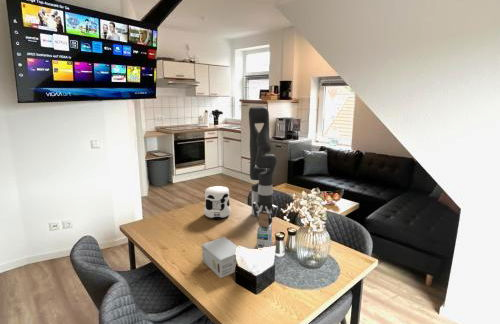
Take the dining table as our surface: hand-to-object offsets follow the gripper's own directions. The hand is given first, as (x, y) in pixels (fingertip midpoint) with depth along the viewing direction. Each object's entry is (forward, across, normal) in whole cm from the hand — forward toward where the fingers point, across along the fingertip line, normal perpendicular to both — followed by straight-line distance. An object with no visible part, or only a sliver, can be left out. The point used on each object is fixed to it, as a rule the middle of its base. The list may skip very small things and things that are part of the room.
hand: (264, 222), depth 153 cm
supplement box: (+13, +12, +25) cm, 31 cm away
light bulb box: (+13, 0, 0) cm, 13 cm away
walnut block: (+1, 0, 0) cm, 1 cm away
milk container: (+13, +42, -23) cm, 50 cm away
